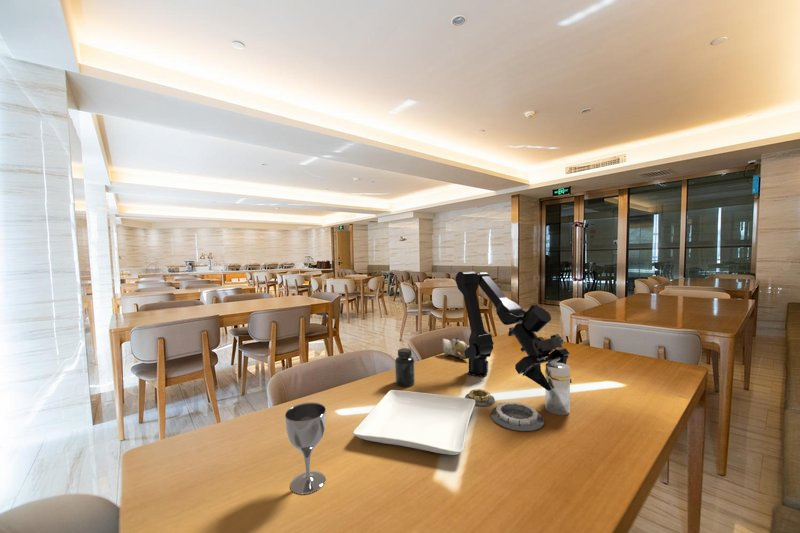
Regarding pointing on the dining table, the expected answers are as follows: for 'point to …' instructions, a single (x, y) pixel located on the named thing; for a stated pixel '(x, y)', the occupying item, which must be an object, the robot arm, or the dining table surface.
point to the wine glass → (306, 442)
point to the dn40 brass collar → (481, 397)
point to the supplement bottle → (404, 368)
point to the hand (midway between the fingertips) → (560, 386)
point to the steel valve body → (558, 388)
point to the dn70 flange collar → (517, 417)
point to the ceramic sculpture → (454, 347)
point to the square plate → (419, 421)
